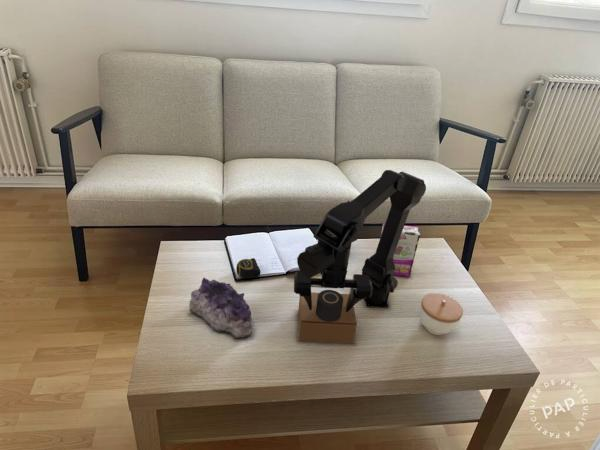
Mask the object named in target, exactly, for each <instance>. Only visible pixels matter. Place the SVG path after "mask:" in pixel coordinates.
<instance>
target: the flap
mask: <svg viewBox="0 0 600 450" xmlns="http://www.w3.org/2000/svg"><path fill="white" fill-rule="evenodd" d="M319 293H320V292H315V291H314V292H313V291H311V297H312V306H317V298H318V294H319ZM340 294H341V295H342V297H343V305H342V307H343V308H346V304H347V300H348V297H349V293H340ZM300 297H301V305H302V306H308V304H307V302H306V300H305V298H304V297H303V296H300V295H299V298H300ZM352 308H354V309H355V305H354V306H353V307H352Z"/></svg>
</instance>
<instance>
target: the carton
mask: <svg viewBox="0 0 600 450" xmlns="http://www.w3.org/2000/svg"><path fill="white" fill-rule="evenodd" d="M297 312H298V313H297V315H298V316H297V317H298V318H297V319H298V323H297V324H298V342H303V343H304V342H306V343H309V342H310V343H329V344H349V345H350V344H351V345H352V344H354V340H355V334H356V330H357V324H358V322H357V316H356V311H355V307H354V308H351V309H350V310H349V311H348V312H346V308H343V307H342V311H341V316H340V318H339V319H338V320H336V321H333V322H327V321H323V320H321V319H320V318H319V317H318V316H317V315H316V306H312V310H310V309H309V307H308V306H302V305H301V297H300V296H299V301H298V309H297Z"/></svg>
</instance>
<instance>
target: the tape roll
mask: <svg viewBox="0 0 600 450" xmlns="http://www.w3.org/2000/svg"><path fill="white" fill-rule="evenodd" d="M318 293H319V294H318V298H317V306H316V315H317V316H318V317H319V318H320V319H321V320H323V321H327V322H333V321H336V320H338V319H339V318H340V316H341V311H342V305H343V297H342V295H341V294H342V293H340V292H338V291H336V290H334V289H324V290H321V291H320V292H318Z"/></svg>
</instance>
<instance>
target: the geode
mask: <svg viewBox="0 0 600 450" xmlns="http://www.w3.org/2000/svg"><path fill="white" fill-rule="evenodd" d="M244 297H245V293H244V292H242V293H239V292H238V291H237V290H236V289H235V288H234V287H233V285H231V283H230V282H229V283H226V282H220V281H217V280H216V279H212V280H209V279H207V278H206V277H203V278H202V279H201V284H200V286H199V287H198V289H195V290H193V291H191V292H190V300H189V303H188V305H189V312H190V313H191V314H193V315H195V316H197V317H199V318H202V319H203V321H204V322H205V323H206V324H208V325H209V326H210V327H211V328H212V329H213V330H214V331H215V332H226V333H229V334H230V335H231V336H232V337H233V338H234V339H236V340H242V339H247V338H249V337H251V336H252V333H253V332H252V331H253V326H254V324H253V322H252V318H253V317H252V311H251V308H250V306H249V305H248V303H247V301H246V300H245V298H244Z"/></svg>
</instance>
